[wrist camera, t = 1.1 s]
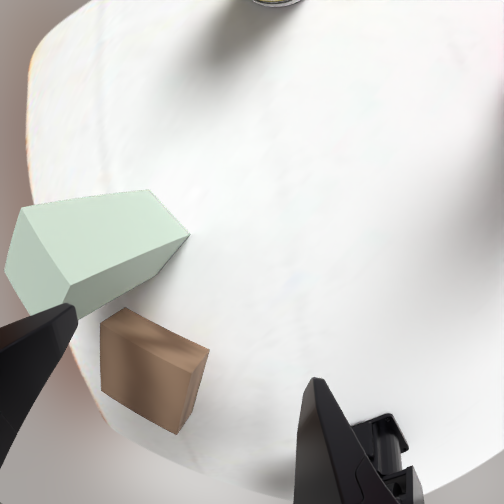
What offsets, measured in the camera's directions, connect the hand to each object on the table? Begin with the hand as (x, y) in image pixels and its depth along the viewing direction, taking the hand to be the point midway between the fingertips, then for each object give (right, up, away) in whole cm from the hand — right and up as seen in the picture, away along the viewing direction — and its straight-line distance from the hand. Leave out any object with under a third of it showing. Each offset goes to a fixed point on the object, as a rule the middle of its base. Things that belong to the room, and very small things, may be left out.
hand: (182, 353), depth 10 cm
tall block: (-6, +5, +14) cm, 15 cm away
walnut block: (-7, -7, +17) cm, 20 cm away
